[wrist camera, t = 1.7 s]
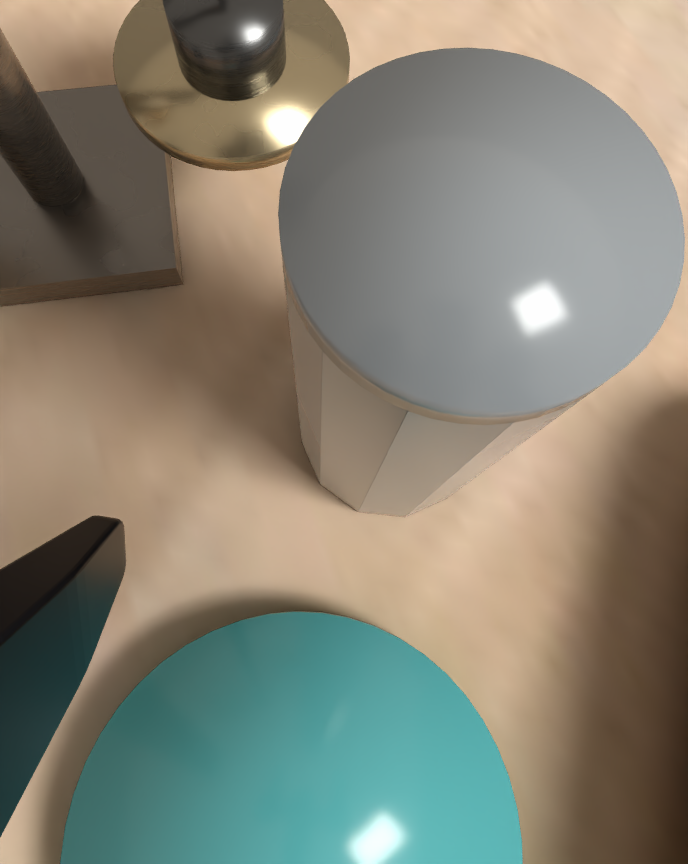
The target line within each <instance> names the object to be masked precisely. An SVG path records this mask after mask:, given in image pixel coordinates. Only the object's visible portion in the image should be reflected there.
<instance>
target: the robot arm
mask: <svg viewBox="0 0 688 864" xmlns="http://www.w3.org/2000/svg"><path fill="white" fill-rule="evenodd" d="M125 566H126V553H125V535H124V525H123V523H122V521H121V520H119V519H116V518H110V517H104V516H92V517H90V518H88V519H86V520H84V521H82V522H81V523H79V524H77V525H76V526H74V527H72V528H70V529H69V530H67V531H65V532H64V533H62V534H60V535H58V536H57V537H55V538H53V539H52V540H50V541H48V542H46V543H45V544H43V545H41V546H39V547H38V548H36V549H34V550H33V551H31V552H29V553H27V554H26V555H24V556H22V557H21V558H19V559H17V560H15V561H14V562H12V563H10V564H8V565H7V566H5V567H3V568H2V569H0V837H1V835H2V833H3V831H4V829H5V827H6V825H7V824H8V822H9V820H10V818H11V816H12V814H13V812H14V810H15V808H16V806H17V804H18V802H19V800H20V799H21V797H22V795H23V793H24V791H25V789H26V787H27V785H28V783H29V781H30V779H31V777H32V776H33V774H34V772H35V770H36V768H37V766H38V764H39V762H40V760H41V758H42V756H43V754H44V753H45V751H46V749H47V747H48V745H49V743H50V741H51V739H52V737H53V735H54V733H55V731H56V730H57V728H58V726H59V724H60V722H61V720H62V718H63V716H64V714H65V712H66V710H67V708H68V707H69V705H70V703H71V701H72V699H73V697H74V695H75V693H76V691H77V689H78V687H79V685H80V683H81V681H82V679H83V677H84V675H85V673H86V671H87V668H88V666H89V664H90V661H91V659H92V656H93V654H94V651H95V649H96V646H97V643H98V641H99V638H100V636H101V633H102V630H103V628H104V625H105V623H106V620H107V617H108V615H109V612H110V610H111V607H112V604H113V602H114V599H115V597H116V594H117V592H118V589H119V586H120V584H121V581H122V578H123V575H124V572H125Z"/></svg>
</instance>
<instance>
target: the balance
mask: <svg viewBox="0 0 688 864" xmlns="http://www.w3.org/2000/svg"><path fill="white" fill-rule="evenodd" d="M349 63H350V56H349V47H348V42H347V39H346V35H345V32H344V30H343V28H342V25H341V23H340V21H339V20H338V18H337V17H336V15H335V13H334V12H333V10H332V9H331V8H330V7H329V6H328V4H327V3H326V2H325V1H324V0H140V1H139V2H138V3H137V4H136V5H135V6H134V7H133V8H132V10H131V11H130V13H129V14H128V15H127V17H126V18H125V20H124V22H123V24H122V26H121V28H120V30H119V33H118V36H117V39H116V42H115V48H114V54H113V68H114V74H115V80H116V83H117V85H108V86H97V87H87V88H77V89H66V90H56V91H45V92H36V91H35V89H34V87H33V85H32V84H31V82H30V80H29V78H28V76H27V75H26V73H25V71H24V69H23V68H22V66H21V64H20V62H19V60H18V59H17V57H16V55H15V53H14V52H13V50H12V48H11V46H10V45H9V43H8V41H7V39H6V37H5V36H4V34H3V32H2V30H1V29H0V306H8V305H16V304H24V303H32V302H41V301H49V300H57V299H65V298H74V297H82V296H90V295H98V294H107V293H115V292H123V291H131V290H140V289H148V288H156V287H165V286H173V285H181V284H183V276H182V266H181V257H180V247H179V237H178V228H177V218H176V208H175V198H174V189H173V179H172V169H171V160H170V155H171V156H173V157H175V158H177V159H179V160H182V161H184V162H186V163H189V164H193V165H196V166H199V167H203V168H209V169H215V170H226V171H241V170H252V169H258V168H264V167H268V166H271V165H275V164H278V163H281V162H283V161H286V160H288V159H289V157H290V155H291V152H292V150H293V147H294V145H295V143H296V142H297V140H298V138H299V136H300V135H301V133H302V131H303V129H304V128H305V126H306V125H307V124H308V122H309V121H310V120H311V118H312V117H313V116H314V115H315V113H316V112H317V111H318V109H319V108H320V107H321V106H322V105H323V104H324V103H325V102H327V101H328V100H329V99H330V98H331V97H332V96H333V95H334V94H335V93H336V92H337V91H339V90H340V89H341V88H343V87H344V86H345V85H347V84H348V81H349Z"/></svg>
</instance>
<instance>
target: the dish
mask: <svg viewBox="0 0 688 864" xmlns="http://www.w3.org/2000/svg"><path fill="white" fill-rule="evenodd" d="M60 864H523V862H522V838H521V831H520V824H519V817H518V810H517V806H516V802H515V798H514V794H513V790H512V786H511V783H510V779H509V776H508V773H507V771H506V768H505V765H504V763H503V760H502V758H501V755H500V753H499V750H498V747H497V746H496V744H495V742H494V740H493V738H492V736H491V734H490V732H489V730H488V729H487V727H486V725H485V723H484V721H483V719H482V718H481V717H480V715H479V714H478V712H477V711H476V709H475V708H474V707H473V705H472V704H471V702H470V701H469V699H468V698H467V696H466V695H465V694H464V693H463V692H462V691H461V690H460V688H459V687H458V686H457V685H456V684H455V683H454V682H453V681H452V680H451V678H450V677H449V676H448V675H447V674H446V673H445V672H444V671H443V670H441V669H440V668H439V667H438V666H437V665H436V664H435V663H433V662H432V661H431V660H430V659H429V658H428V657H426V656H425V655H424V654H423V653H421V652H420V651H418V650H416V649H415V648H413V647H412V646H410V645H409V644H407V643H406V642H404V641H403V640H401V639H400V638H398V637H396V636H394V635H392V634H390V633H388V632H386V631H384V630H382V629H380V628H377V627H375V626H373V625H371V624H368V623H365V622H362V621H359V620H356V619H353V618H349V617H346V616H340V615H335V614H329V613H324V612H308V611H290V612H279V613H269V614H265V615H260V616H256V617H252V618H248V619H243V620H240V621H238V622H235V623H232V624H230V625H227V626H224V627H222V628H219V629H217V630H214V631H211V632H210V633H208V634H206V635H204V636H202V637H200V638H198V639H196V640H195V641H193V642H191V643H189V644H187V645H185V646H184V647H183V648H181V649H180V650H178V651H177V652H176V653H174V654H173V655H171V656H170V657H168V658H167V659H166V660H164V661H163V662H162V663H160V664H159V665H158V666H157V667H156V668H155V669H154V670H153V671H152V672H151V673H149V674H148V675H147V676H146V677H145V678H144V679H143V680H142V681H141V682H140V683H139V684H138V685H137V686H136V687H135V688H134V689H133V691H132V692H131V693H130V694H129V695H128V696H127V698H126V699H125V700H124V701H123V702H122V703H121V705H120V706H119V707H118V708H117V710H116V711H115V713H114V714H113V716H112V717H111V719H110V720H109V722H108V723H107V725H106V726H105V728H104V729H103V731H102V732H101V734H100V735H99V737H98V739H97V741H96V743H95V745H94V747H93V749H92V751H91V753H90V755H89V757H88V759H87V761H86V762H85V765H84V768H83V770H82V773H81V776H80V778H79V781H78V783H77V786H76V789H75V791H74V794H73V798H72V802H71V806H70V810H69V814H68V817H67V821H66V825H65V831H64V838H63V846H62V853H61V860H60Z"/></svg>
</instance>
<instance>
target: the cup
mask: <svg viewBox="0 0 688 864" xmlns="http://www.w3.org/2000/svg"><path fill="white" fill-rule="evenodd" d="M278 216H279V230H280V242H281V251H282V261H283V273H284V282H285V291H286V301H287V310H288V319H289V328H290V338H291V347H292V356H293V365H294V375H295V384H296V393H297V402H298V412H299V421H300V430H301V439H302V444H303V446H304V449H305V451H306V453H307V455H308V458H309V460H310V462H311V465H312V467H313V469H314V471H315V474H316V476H317V478H318V481H319V483H320V485H322V486H323V487H325V488H326V489H327V490H329V491H330V492H331V493H333V494H334V495H336V496H337V497H338V498H340V499H341V500H342V501H344V502H345V503H346V504H348V505H349V506H351V507H352V508H353V509H355V510H356V511H357V512H363V513H372V514H381V515H390V516H399V517H406V516H408V515H411V514H413V513H415V512H417V511H420V510H422V509H424V508H426V507H429V506H431V505H433V504H435V503H438V502H440V501H442V500H444V499H447V498H448V497H449V496H451V495H452V494H453V493H455V492H456V491H457V490H459V489H460V488H462V487H463V486H464V485H466V484H467V483H468V482H470V481H471V480H472V479H474V478H475V477H477V476H478V475H479V474H481V473H482V472H483V471H485V470H486V469H487V468H489V467H490V466H492V465H493V464H494V463H496V462H497V461H498V460H500V459H501V458H503V457H504V456H505V455H507V454H508V453H509V452H511V451H512V450H513V449H515V448H516V447H518V446H519V445H520V444H522V443H523V442H524V441H526V440H527V439H528V438H530V437H531V436H533V435H534V434H535V433H537V432H538V431H539V430H541V429H542V428H543V427H545V426H546V425H548V424H549V423H550V422H552V421H553V420H554V419H556V418H557V417H558V416H560V415H561V414H563V413H564V412H565V411H567V410H568V409H569V408H571V407H572V406H573V405H575V404H576V403H578V402H579V401H580V400H582V399H583V398H584V397H586V396H587V395H588V394H590V393H591V392H593V391H594V390H595V389H597V388H598V387H599V386H601V385H602V384H603V383H604V382H606V381H607V380H608V379H610V378H611V377H612V376H614V375H615V374H617V373H618V372H619V371H621V370H622V369H623V368H625V367H626V366H627V365H628V364H629V363H630V362H631V361H632V360H634V359H635V358H636V357H637V356H638V355H639V354H640V353H641V352H642V351H643V350H644V349H645V348H646V346H647V345H648V344H649V342H650V341H651V340H652V338H653V337H654V336H655V334H656V333H657V332H658V330H659V329H660V328H661V326H662V324H663V322H664V320H665V318H666V316H667V315H668V313H669V311H670V309H671V307H672V304H673V301H674V299H675V296H676V293H677V290H678V287H679V284H680V279H681V274H682V268H683V263H684V243H685V237H684V227H683V218H682V212H681V208H680V204H679V200H678V196H677V192H676V190H675V187H674V185H673V182H672V180H671V177H670V175H669V172H668V170H667V168H666V166H665V164H664V163H663V161H662V159H661V157H660V155H659V154H658V152H657V150H656V148H655V147H654V146H653V144H652V143H651V142H650V140H649V139H648V137H647V136H646V135H645V133H644V132H643V131H642V129H641V128H640V127H639V126H638V125H637V124H636V123H635V122H634V121H633V120H632V119H631V117H630V116H629V115H628V114H627V113H626V112H625V111H624V110H623V109H621V108H620V107H619V106H618V105H617V104H616V103H614V102H613V101H612V100H611V99H610V98H609V97H607V96H606V95H605V94H603V93H602V92H600V91H599V90H597V89H596V88H595V87H593V86H592V85H590V84H589V83H587V82H586V81H584V80H582V79H580V78H578V77H576V76H574V75H573V74H571V73H569V72H567V71H565V70H563V69H560V68H558V67H556V66H553V65H551V64H548V63H546V62H543V61H541V60H537V59H534V58H530V57H527V56H523V55H520V54H516V53H510V52H504V51H498V50H493V49H478V48H451V49H439V50H433V51H426V52H420V53H416V54H412V55H409V56H405V57H401V58H397V59H395V60H392V61H390V62H387V63H385V64H382V65H380V66H377V67H375V68H373V69H371V70H369V71H368V72H366V73H364V74H362V75H360V76H359V77H357V78H355V79H354V80H352V81H351V82H349V83H348V84H347V85H345V86H344V87H343V88H341V89H340V90H339V91H337V92H336V93H335V94H334V95H333V96H332V97H331V98H330V99H329V100H328V101H327V102H325V103H324V104H323V105H322V106H321V107H320V108H319V109H318V111H317V112H316V113H315V115H314V116H313V117H312V118H311V120H310V121H309V122H308V124H307V125H306V126H305V128H304V129H303V131H302V133H301V135H300V136H299V138H298V140H297V142H296V143H295V145H294V147H293V150H292V152H291V155H290V157H289V160H288V162H287V165H286V167H285V171H284V176H283V180H282V184H281V189H280V199H279V212H278Z"/></svg>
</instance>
